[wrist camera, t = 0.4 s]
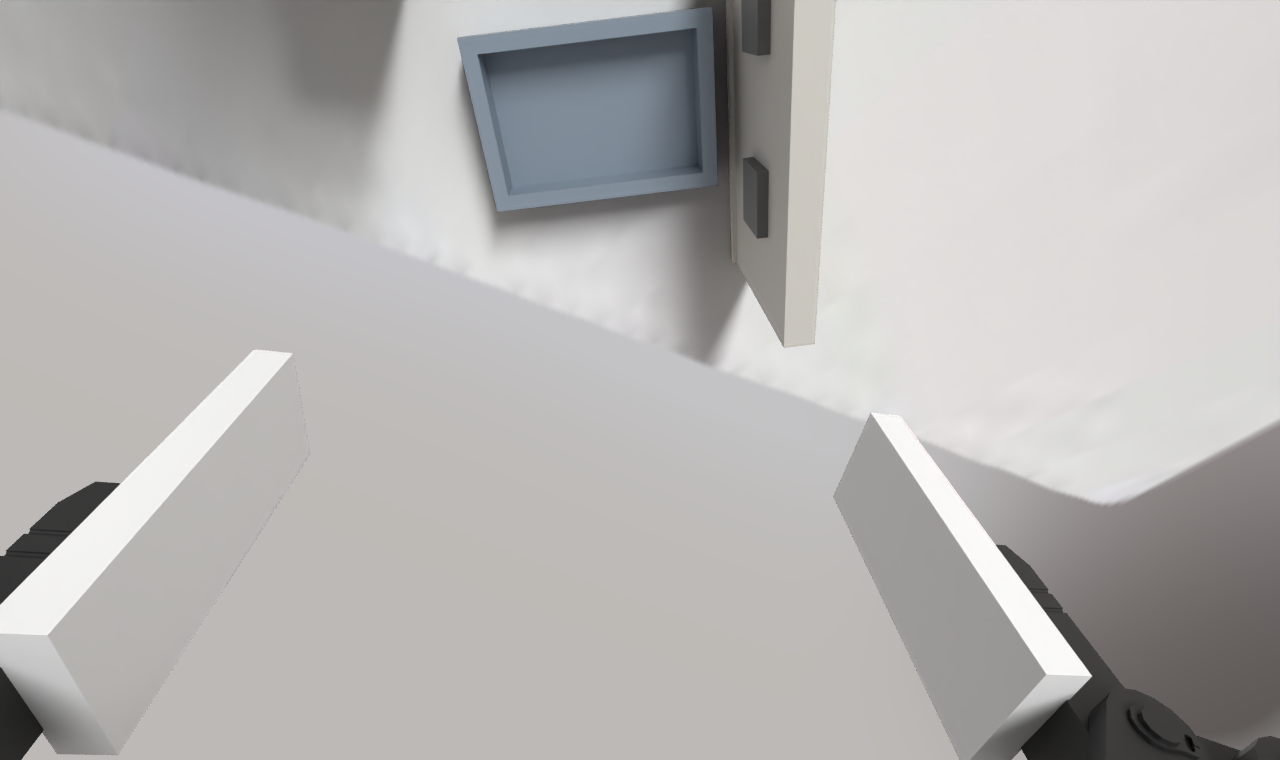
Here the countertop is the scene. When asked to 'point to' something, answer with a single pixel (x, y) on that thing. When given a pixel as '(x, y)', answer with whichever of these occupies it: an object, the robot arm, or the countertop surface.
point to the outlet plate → (779, 153)
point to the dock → (595, 108)
